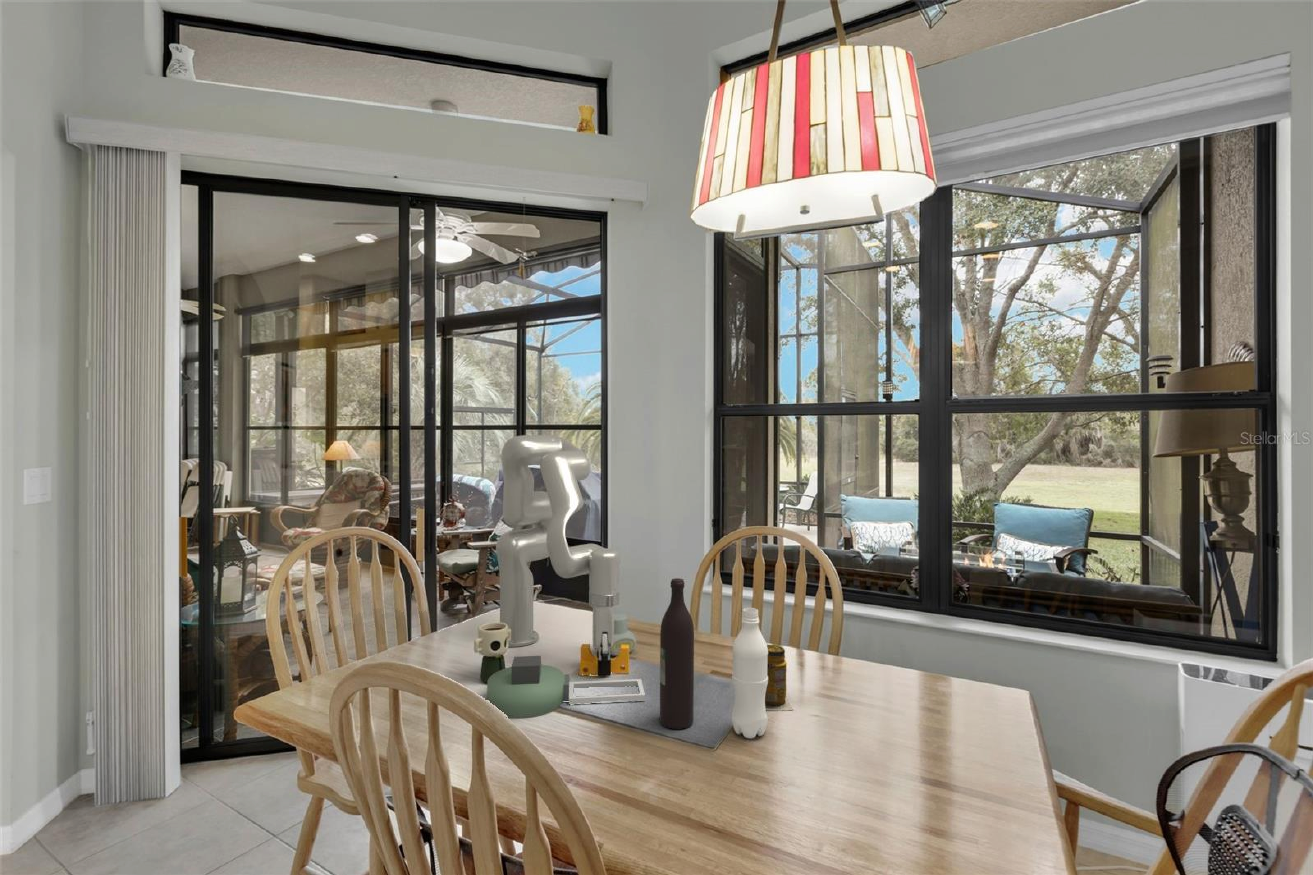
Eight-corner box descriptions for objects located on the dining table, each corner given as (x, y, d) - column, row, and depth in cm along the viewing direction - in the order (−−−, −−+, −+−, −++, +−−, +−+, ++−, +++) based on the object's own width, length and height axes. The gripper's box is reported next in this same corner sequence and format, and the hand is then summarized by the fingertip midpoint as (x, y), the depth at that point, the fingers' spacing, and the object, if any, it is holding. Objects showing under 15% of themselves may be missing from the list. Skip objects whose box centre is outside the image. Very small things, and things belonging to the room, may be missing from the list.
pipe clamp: (579, 676, 155) (579, 650, 155) (582, 669, 159) (582, 644, 159) (627, 677, 155) (627, 651, 155) (629, 670, 159) (629, 644, 159)
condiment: (784, 694, 145) (784, 643, 145) (793, 711, 137) (793, 656, 137) (752, 694, 145) (753, 643, 145) (760, 711, 137) (760, 656, 136)
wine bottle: (676, 711, 136) (676, 574, 136) (700, 722, 131) (701, 579, 131) (652, 722, 131) (653, 579, 131) (677, 734, 126) (678, 585, 126)
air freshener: (604, 661, 165) (604, 623, 165) (591, 651, 172) (592, 615, 172) (640, 653, 171) (641, 617, 170) (627, 644, 178) (627, 609, 178)
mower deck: (492, 686, 148) (492, 649, 148) (639, 680, 153) (639, 643, 153) (482, 720, 131) (482, 677, 131) (647, 711, 136) (647, 670, 136)
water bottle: (745, 744, 122) (746, 617, 122) (724, 728, 128) (725, 607, 128) (774, 736, 125) (776, 612, 125) (753, 721, 132) (754, 603, 131)
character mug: (484, 690, 146) (484, 635, 146) (465, 683, 150) (465, 629, 150) (520, 676, 155) (520, 623, 155) (501, 669, 159) (501, 618, 159)
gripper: (588, 590, 165) (588, 659, 165) (589, 609, 148) (589, 685, 148) (617, 589, 166) (616, 658, 166) (621, 608, 149) (621, 684, 149)
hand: (603, 670), depth 157 cm, fingers closed on pipe clamp, 4 cm apart
